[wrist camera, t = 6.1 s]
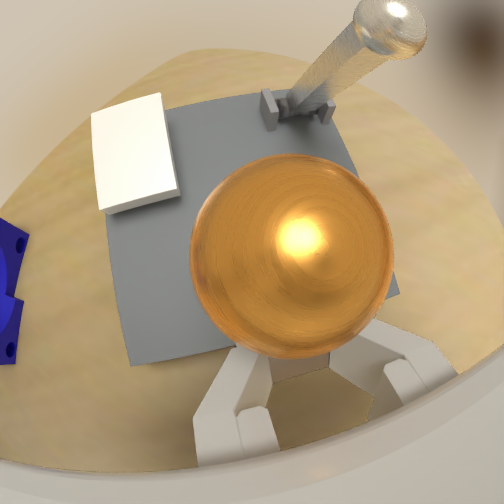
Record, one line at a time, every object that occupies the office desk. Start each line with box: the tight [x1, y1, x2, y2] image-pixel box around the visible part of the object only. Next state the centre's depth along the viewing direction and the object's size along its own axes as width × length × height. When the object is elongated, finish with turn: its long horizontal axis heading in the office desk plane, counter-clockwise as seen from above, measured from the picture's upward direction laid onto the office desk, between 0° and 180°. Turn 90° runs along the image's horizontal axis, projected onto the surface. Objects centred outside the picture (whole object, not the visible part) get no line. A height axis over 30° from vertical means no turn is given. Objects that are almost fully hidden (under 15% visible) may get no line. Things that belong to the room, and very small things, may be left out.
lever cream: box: [275, 0, 427, 119], centre depth 14 cm, size 3×3×15 cm
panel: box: [105, 89, 400, 366], centre depth 20 cm, size 18×18×6 cm
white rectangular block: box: [91, 92, 181, 215], centre depth 18 cm, size 5×7×2 cm
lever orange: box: [189, 153, 394, 359], centre depth 10 cm, size 3×3×15 cm
